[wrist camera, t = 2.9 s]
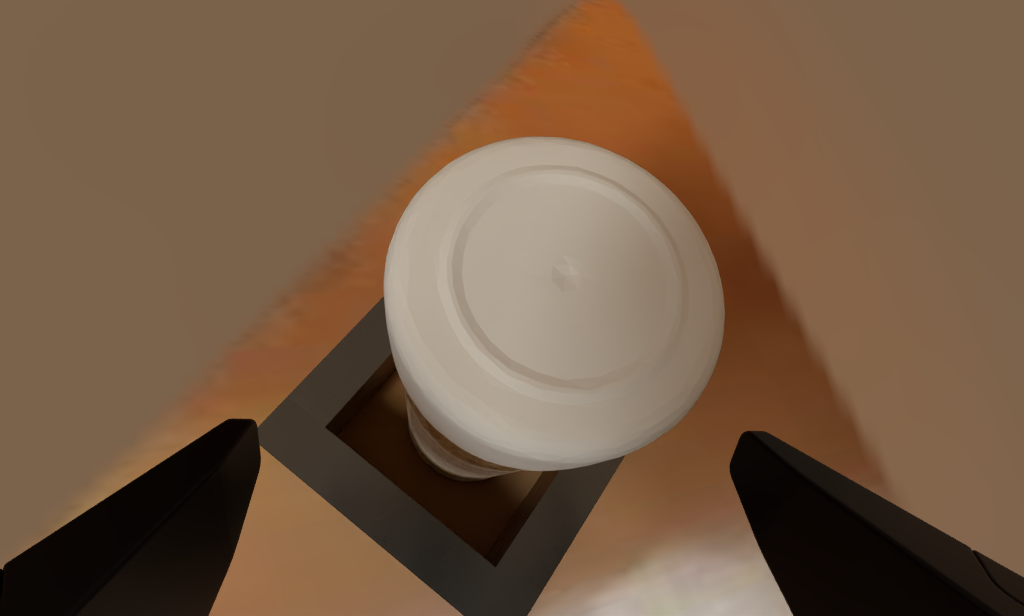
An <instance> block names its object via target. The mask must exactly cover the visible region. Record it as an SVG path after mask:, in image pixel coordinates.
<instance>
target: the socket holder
mask: <svg viewBox="0 0 1024 616" xmlns="http://www.w3.org/2000/svg"><path fill="white" fill-rule="evenodd" d="M395 370H396V366H395V363H394V359H393V355H392V351H391V346H390V340H389V335H388V330H387V324H386V314H385V303H384V297H383V298H382V299H381V300H380V301H379V302H378V303H377V304H376V305H375V306H374V307H373V308H372V309H371V310H370V311H369V312H368V313H367V315H366V316H365V317H364V318H363V319H362V320H361V321H360V322H359V323H358V324H357V325H356V326H355V327H354V328H353V329H352V330H351V331H350V332H349V333H348V334H347V335H346V336H345V337H344V338H343V339H342V341H341V342H340V343H339V344H338V345H337V346H336V347H335V348H334V349H333V350H332V351H331V352H330V353H329V354H328V355H327V356H326V357H325V358H324V359H323V360H322V361H321V362H320V363H319V364H318V365H317V367H316V368H315V369H314V370H313V371H312V372H311V373H310V374H309V375H308V376H307V377H306V378H305V379H304V380H303V381H302V382H301V383H300V384H299V385H298V386H297V387H296V388H295V389H294V390H293V391H292V393H291V394H290V395H289V396H288V397H287V398H286V399H285V400H284V401H283V402H282V403H281V404H280V405H279V406H278V407H277V408H276V409H275V410H274V411H273V412H272V413H271V414H270V415H269V416H268V417H267V418H266V420H265V421H264V422H263V423H262V424H261V425H260V426H259V427H258V437H259V445H260V446H262V447H263V448H264V449H265V450H266V451H268V452H269V453H270V454H271V455H272V456H274V457H275V458H276V459H277V460H278V461H280V462H281V463H282V464H283V465H284V466H286V467H287V468H288V469H289V470H290V471H292V472H293V473H294V474H295V475H296V476H297V477H299V478H300V479H301V480H302V481H303V482H305V483H306V484H307V485H308V486H309V487H311V488H312V489H313V490H314V491H315V492H317V493H318V494H319V495H320V496H321V497H323V498H324V499H325V500H326V501H327V502H329V503H330V504H331V505H332V506H333V507H335V508H336V509H337V510H338V511H339V512H341V513H342V514H343V515H344V516H345V517H347V518H348V519H349V520H350V521H351V522H353V523H354V524H355V525H356V526H357V527H358V528H360V529H361V530H362V531H363V532H364V533H366V534H367V535H368V536H369V537H370V538H372V539H373V540H374V541H375V542H376V543H378V544H379V545H380V546H381V547H382V548H384V549H385V550H386V551H387V552H388V553H390V554H391V555H392V556H393V557H394V558H396V559H397V560H398V561H399V562H400V563H402V564H403V565H404V566H405V567H406V568H408V569H409V570H410V571H411V572H412V573H414V574H415V575H416V576H417V577H418V578H419V579H421V580H422V581H423V582H424V583H425V584H427V585H428V586H429V587H430V588H431V589H433V590H434V591H435V592H436V593H437V594H439V595H440V596H441V597H442V598H443V599H445V600H446V601H447V602H448V603H449V604H451V605H452V606H453V607H454V608H455V609H457V610H458V611H459V612H460V613H461V614H463V615H464V616H527V615H528V613H529V612H530V610H531V608H532V607H533V605H534V604H535V602H536V600H537V599H538V597H539V595H540V594H541V592H542V590H543V589H544V587H545V586H546V584H547V582H548V581H549V579H550V577H551V576H552V574H553V572H554V571H555V569H556V568H557V566H558V564H559V563H560V561H561V559H562V558H563V556H564V555H565V553H566V551H567V550H568V548H569V546H570V545H571V543H572V541H573V540H574V538H575V537H576V535H577V533H578V532H579V530H580V528H581V527H582V525H583V523H584V522H585V520H586V519H587V517H588V515H589V514H590V512H591V510H592V509H593V507H594V505H595V504H596V502H597V501H598V499H599V497H600V496H601V494H602V492H603V491H604V489H605V487H606V486H607V484H608V483H609V481H610V479H611V478H612V476H613V474H614V473H615V471H616V469H617V468H618V466H619V465H620V463H621V461H622V460H623V458H624V456H625V455H624V456H621V457H619V458H615V459H611V460H607V461H604V462H600V463H596V464H592V465H588V466H583V467H578V468H573V469H564V470H555V471H543V473H542V474H541V476H540V477H539V479H538V480H537V482H536V483H535V485H534V486H533V488H532V489H531V491H530V492H529V494H528V495H527V497H526V498H525V500H524V501H523V503H522V504H521V506H520V507H519V509H518V510H517V511H516V513H515V514H514V516H513V517H512V519H511V520H510V522H509V523H508V525H507V526H506V528H505V529H504V531H503V532H502V534H501V535H500V537H499V538H498V540H497V541H496V543H495V544H494V546H493V547H492V549H491V550H490V552H489V553H488V554H487V556H486V557H484V556H483V555H482V554H480V553H479V552H478V551H477V550H475V549H474V548H473V547H472V546H471V545H469V544H468V543H467V542H466V541H465V540H463V539H462V538H461V537H460V536H458V535H457V534H456V533H455V532H454V531H452V530H451V529H450V528H449V527H447V526H446V525H445V524H444V523H443V522H441V521H440V520H439V519H438V518H437V517H435V516H434V515H433V514H432V513H430V512H429V511H428V510H427V509H426V508H424V507H423V506H422V505H421V504H419V503H418V502H417V501H416V500H415V499H413V498H412V497H411V496H410V495H409V494H407V493H406V492H405V491H404V490H402V489H401V488H400V487H399V486H398V485H396V484H395V483H394V482H393V481H391V480H390V479H389V478H388V477H387V476H385V475H384V474H383V473H382V472H380V471H379V470H378V469H377V468H376V467H374V466H373V465H372V464H371V463H370V462H368V461H367V460H366V459H365V458H363V457H362V456H361V455H360V454H359V453H357V452H356V451H355V450H354V449H352V448H351V447H350V446H349V445H348V444H346V443H345V442H344V441H343V440H342V439H340V438H339V437H338V436H337V435H338V434H339V433H340V432H341V431H342V430H343V429H344V427H345V426H346V425H347V424H348V423H349V422H350V421H351V420H352V418H353V417H354V416H355V415H356V414H357V413H358V412H359V411H360V409H361V408H362V407H363V406H364V405H365V404H366V403H367V401H368V400H369V399H370V398H371V397H372V396H373V395H374V394H375V392H376V391H377V390H378V389H379V388H380V387H381V386H382V384H383V383H384V382H385V381H386V380H387V379H388V378H389V377H390V375H391V374H392V373H393V372H394V371H395Z"/></svg>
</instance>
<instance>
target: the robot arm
mask: <svg viewBox="0 0 1024 616" xmlns="http://www.w3.org/2000/svg"><path fill="white" fill-rule="evenodd" d="M260 463H261V455H260V446H259V437H258V428H257V424H256V422H255V421H254V420H253V419H228V420H226V421H224V422H223V423H221V424H220V425H218V426H216V427H215V428H213V429H212V430H210V431H209V432H207V433H206V434H204V435H203V436H201V437H200V438H198V439H196V440H195V441H193V442H192V443H190V444H189V445H187V446H186V447H184V448H183V449H181V450H180V451H178V452H176V453H175V454H173V455H172V456H170V457H169V458H167V459H166V460H164V461H163V462H161V463H160V464H158V465H157V466H155V467H153V468H152V469H150V470H149V471H147V472H146V473H144V474H143V475H141V476H140V477H138V478H137V479H135V480H133V481H132V482H130V483H129V484H127V485H126V486H124V487H123V488H121V489H120V490H118V491H117V492H115V493H114V494H112V495H110V496H109V497H107V498H106V499H104V500H103V501H101V502H100V503H98V504H97V505H95V506H94V507H92V508H90V509H89V510H87V511H86V512H84V513H83V514H81V515H80V516H78V517H77V518H75V519H74V520H72V521H70V522H69V523H67V524H66V525H64V526H63V527H61V528H60V529H58V530H57V531H55V532H54V533H52V534H51V535H49V536H47V537H46V538H44V539H43V540H41V541H40V542H38V543H37V544H35V545H34V546H32V547H31V548H29V549H27V550H26V551H24V552H23V553H21V554H20V555H18V556H17V557H15V558H14V559H12V560H11V561H9V562H7V563H6V564H5V565H4V567H3V570H2V569H0V616H208V615H209V613H210V611H211V608H212V606H213V604H214V601H215V599H216V597H217V594H218V592H219V590H220V587H221V585H222V583H223V580H224V578H225V576H226V573H227V571H228V568H229V566H230V563H231V561H232V558H233V556H234V553H235V549H236V546H237V543H238V540H239V537H240V533H241V530H242V527H243V523H244V520H245V517H246V513H247V510H248V507H249V503H250V500H251V497H252V493H253V490H254V487H255V483H256V480H257V477H258V473H259V469H260ZM730 474H731V478H732V480H733V483H734V485H735V488H736V490H737V493H738V495H739V498H740V500H741V503H742V505H743V508H744V511H745V513H746V516H747V518H748V521H749V523H750V526H751V528H752V531H753V533H754V536H755V538H756V541H757V543H758V545H759V548H760V550H761V552H762V554H763V556H764V558H765V560H766V562H767V564H768V566H769V568H770V570H771V572H772V574H773V576H774V578H775V580H776V582H777V584H778V586H779V588H780V590H781V592H782V594H783V596H784V598H785V600H786V602H787V604H788V606H789V608H790V610H791V612H792V614H793V616H1024V577H1022V576H1020V575H1018V574H1017V573H1015V572H1013V571H1011V570H1009V569H1008V568H1006V567H1004V566H1002V565H1000V564H998V563H997V562H995V561H993V560H992V559H990V558H988V557H986V556H984V555H983V554H981V553H979V552H977V551H975V550H973V551H972V550H971V548H970V547H968V546H967V545H965V544H963V543H961V542H960V541H958V540H956V539H954V538H953V537H951V536H949V535H947V534H946V533H944V532H942V531H940V530H938V529H937V528H935V527H933V526H931V525H930V524H928V523H926V522H924V521H923V520H921V519H919V518H917V517H916V516H914V515H912V514H910V513H908V512H907V511H905V510H903V509H901V508H900V507H898V506H896V505H894V504H893V503H891V502H889V501H887V500H886V499H884V498H882V497H880V496H879V495H877V494H875V493H873V492H871V491H870V490H868V489H866V488H864V487H863V486H861V485H859V484H857V483H856V482H854V481H852V480H850V479H849V478H847V477H845V476H843V475H841V474H840V473H838V472H836V471H834V470H833V469H831V468H829V467H827V466H826V465H824V464H822V463H820V462H819V461H817V460H815V459H813V458H812V457H810V456H808V455H806V454H804V453H803V452H801V451H799V450H797V449H796V448H794V447H792V446H790V445H789V444H787V443H785V442H783V441H782V440H780V439H778V438H776V437H774V436H773V435H771V434H769V433H767V432H764V431H746V432H744V433H743V434H742V435H741V436H740V439H739V441H738V444H737V446H736V449H735V451H734V454H733V457H732V459H731V462H730Z"/></svg>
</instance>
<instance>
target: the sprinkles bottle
mask: <svg viewBox="0 0 1024 616" xmlns="http://www.w3.org/2000/svg"><path fill="white" fill-rule="evenodd" d="M384 303H385V314H386V324H387V330H388V335H389V340H390V346H391V351H392V355H393V359H394V363H395V366H396V369H397V371H398V374H399V377H400V379H401V381H402V383H403V385H404V387H405V400H406V407H407V413H408V428H409V432H410V437H411V440H412V442H413V445H414V446H415V448H416V450H417V452H418V453H419V455H420V457H421V459H422V460H423V462H425V463H426V464H427V465H429V466H430V467H431V468H432V469H433V470H434V471H436V472H437V473H439V474H441V475H442V476H445V477H447V478H449V479H453V480H458V481H463V482H471V481H478V480H485V479H488V478H490V477H493V476H498V475H504V474H509V473H513V472H518V471H523V470H529V471H555V470H564V469H573V468H578V467H583V466H588V465H592V464H596V463H600V462H604V461H607V460H611V459H615V458H619V457H621V456H624V455H627V454H629V453H632V452H634V451H636V450H638V449H640V448H642V447H644V446H646V445H648V444H650V443H651V442H653V441H655V440H656V439H658V438H659V437H661V436H662V435H664V434H665V433H667V432H668V431H669V430H671V429H672V428H673V427H674V426H675V425H677V424H678V423H679V422H680V421H681V420H682V419H683V417H684V416H685V415H686V414H687V413H688V412H689V411H690V410H691V409H692V407H693V406H694V405H695V403H696V402H697V400H698V399H699V398H700V396H701V394H702V393H703V391H704V389H705V387H706V386H707V384H708V382H709V380H710V378H711V376H712V374H713V371H714V369H715V366H716V363H717V360H718V357H719V354H720V350H721V346H722V340H723V334H724V321H725V306H724V294H723V289H722V283H721V278H720V274H719V271H718V267H717V263H716V261H715V258H714V256H713V253H712V251H711V248H710V246H709V243H708V241H707V240H706V238H705V236H704V234H703V232H702V231H701V229H700V227H699V225H698V224H697V222H696V221H695V219H694V218H693V216H692V215H691V213H690V212H689V211H688V210H687V208H686V207H685V206H684V205H683V204H682V202H681V201H680V200H679V199H678V198H677V197H676V196H675V195H674V194H673V193H672V192H671V191H670V190H669V189H668V188H667V187H666V186H665V185H664V184H663V183H662V182H660V181H659V180H658V179H657V178H655V177H654V176H653V175H652V174H650V173H649V172H648V171H646V170H644V169H643V168H641V167H640V166H638V165H636V164H635V163H633V162H632V161H630V160H628V159H626V158H624V157H622V156H620V155H618V154H616V153H614V152H611V151H609V150H607V149H604V148H602V147H599V146H596V145H593V144H590V143H587V142H582V141H577V140H572V139H567V138H558V137H522V138H515V139H508V140H504V141H499V142H495V143H492V144H489V145H486V146H483V147H480V148H478V149H475V150H472V151H470V152H468V153H467V154H465V155H463V156H461V157H459V158H457V159H455V160H454V161H452V162H451V163H449V164H448V165H446V166H445V167H444V168H442V169H441V170H440V171H439V172H438V173H437V174H435V175H434V176H433V177H432V178H431V179H430V180H429V181H427V182H426V183H425V184H424V186H423V187H422V188H421V189H420V190H419V191H418V192H417V193H416V195H415V196H414V197H413V199H412V200H411V202H410V203H409V205H408V206H407V208H406V210H405V211H404V213H403V215H402V217H401V219H400V221H399V223H398V225H397V227H396V229H395V232H394V235H393V238H392V241H391V243H390V246H389V250H388V254H387V258H386V266H385V274H384Z"/></svg>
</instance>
